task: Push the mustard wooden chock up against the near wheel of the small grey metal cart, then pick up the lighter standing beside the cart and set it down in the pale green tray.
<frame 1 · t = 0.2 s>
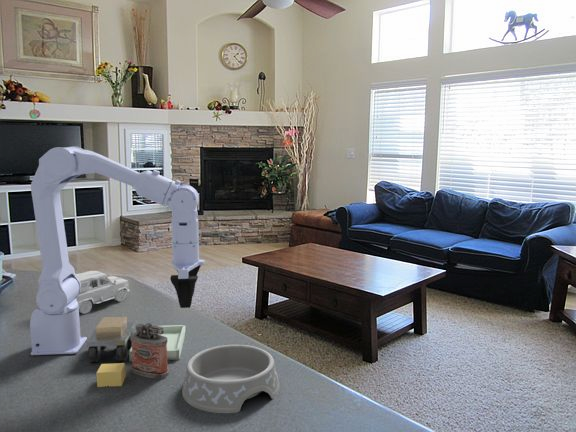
hand: (187, 301, 111), 10 cm above the kitchen counter, tool pointing down, fingers open, 7 cm apart
dog bowl: (231, 388, 94), on the kitchen counter
lighter: (150, 373, 99), on the kitchen counter
cart: (112, 352, 108), on the kitchen counter
toy car: (94, 306, 138), on the kitchen counter
tray: (159, 346, 111), on the kitchen counter
chock: (111, 382, 95), on the kitchen counter
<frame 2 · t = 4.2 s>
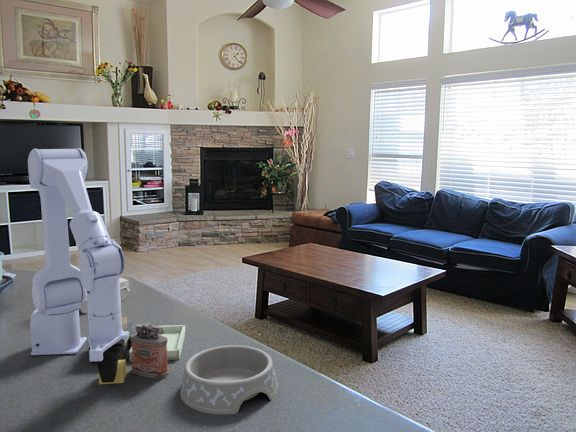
hand: (108, 380, 93), 1 cm above the kitchen counter, tool pointing down, fingers closed
chock: (113, 379, 96), on the kitchen counter, touching gripper
everything else where it was.
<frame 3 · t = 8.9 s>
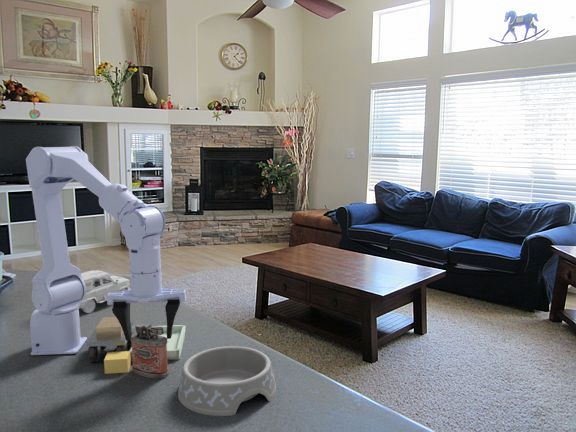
hand: (149, 337, 98), 7 cm above the kitchen counter, tool pointing down, fingers closed on lighter, 7 cm apart
lighter: (150, 374, 99), on the kitchen counter, touching gripper
chock: (118, 369, 101), on the kitchen counter
when the fingers open (10 cm above the kitchen counter, at t = 11.4 s): lighter drops 6 cm, resting on tray.
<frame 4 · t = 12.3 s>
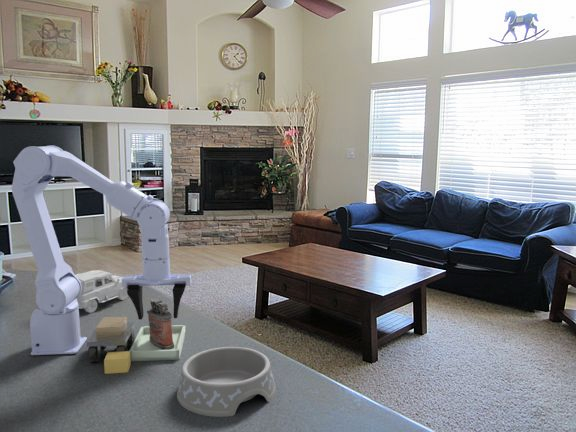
hand: (158, 317, 110), 7 cm above the kitchen counter, tool pointing down, fingers open, 7 cm apart
lighter: (161, 344, 111), resting on tray
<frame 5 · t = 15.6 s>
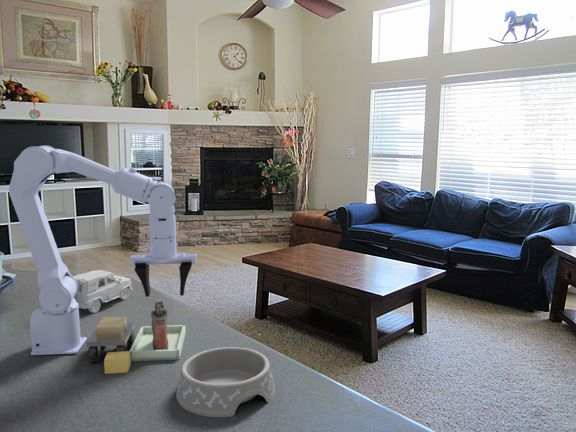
hand: (165, 294, 114), 10 cm above the kitchen counter, tool pointing down, fingers open, 7 cm apart
at the end: chock 0.1 cm from the target spot, on the kitchen counter; lighter inside the target area on the tray (1.1 cm from its centre), point 0.4 cm above the tray's base; the gripper is holding nothing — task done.
